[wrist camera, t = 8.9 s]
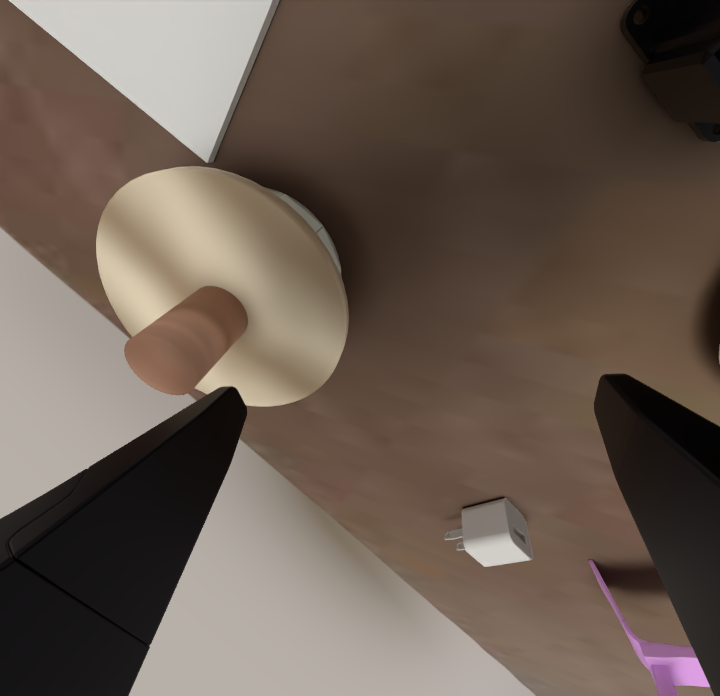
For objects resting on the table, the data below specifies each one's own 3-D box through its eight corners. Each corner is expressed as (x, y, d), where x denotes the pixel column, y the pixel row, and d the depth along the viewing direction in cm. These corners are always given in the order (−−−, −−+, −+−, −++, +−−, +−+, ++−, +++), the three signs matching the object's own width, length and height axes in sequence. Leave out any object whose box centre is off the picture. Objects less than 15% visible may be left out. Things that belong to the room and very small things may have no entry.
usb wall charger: (525, 517, 32) (534, 563, 28) (461, 531, 35) (463, 573, 32) (502, 494, 30) (509, 539, 27) (438, 511, 34) (438, 553, 31)
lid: (148, 87, 13) (-8, 73, 8) (403, 299, 16) (388, 372, 11) (93, 307, 20) (-6, 362, 15) (275, 424, 23) (235, 499, 18)
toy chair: (706, 591, 33) (862, 870, 21) (602, 592, 36) (683, 828, 24) (699, 547, 29) (880, 852, 17) (585, 553, 33) (668, 807, 21)
